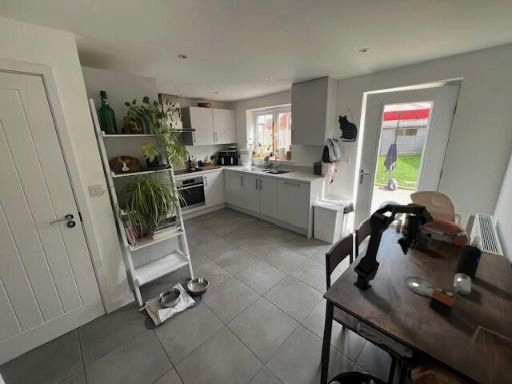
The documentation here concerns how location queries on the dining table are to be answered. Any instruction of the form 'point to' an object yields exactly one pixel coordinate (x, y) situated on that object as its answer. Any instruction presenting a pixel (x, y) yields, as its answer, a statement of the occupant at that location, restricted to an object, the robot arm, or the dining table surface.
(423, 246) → the pen holder
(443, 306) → the battery
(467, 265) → the aerosol can
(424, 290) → the flange plate
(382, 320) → the dining table surface
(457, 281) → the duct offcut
